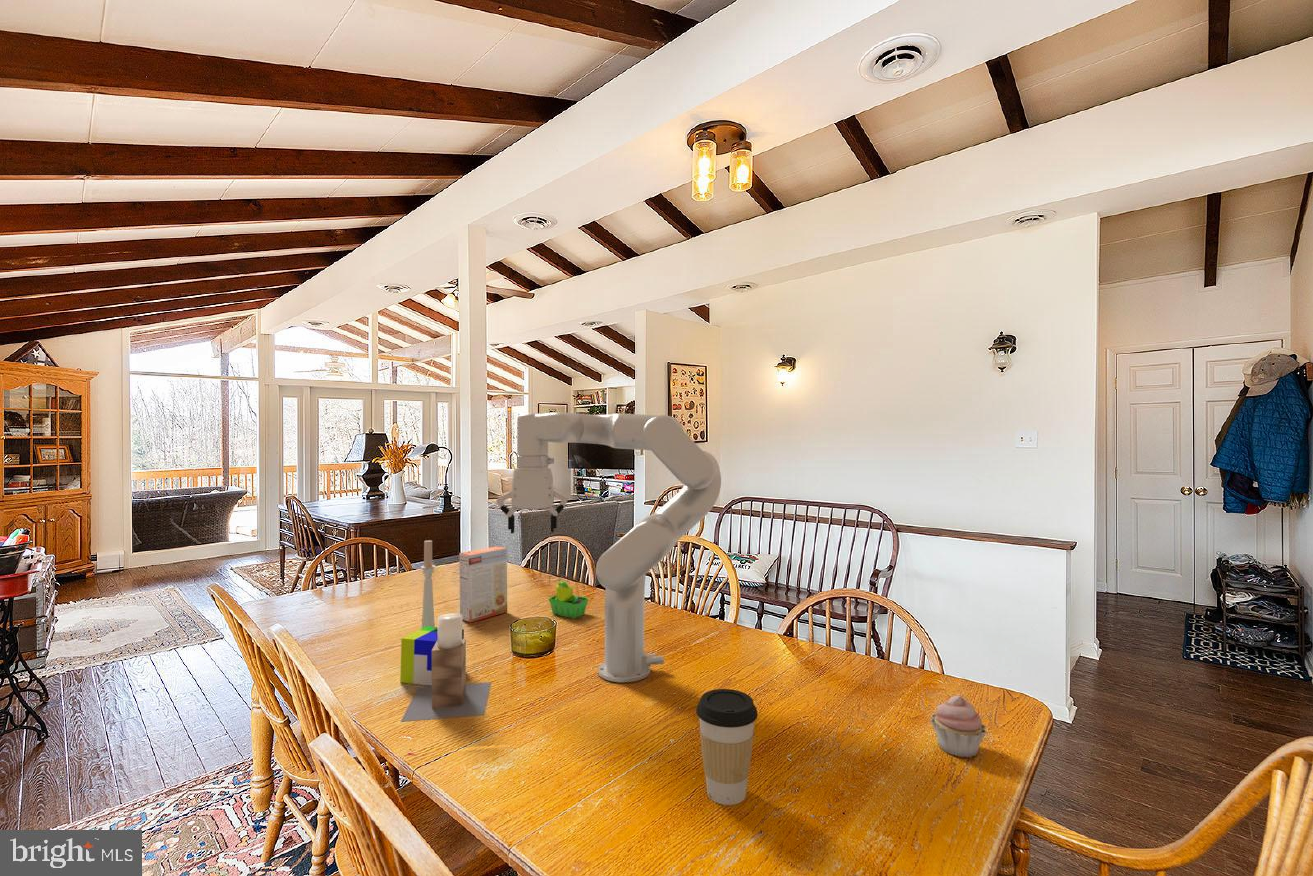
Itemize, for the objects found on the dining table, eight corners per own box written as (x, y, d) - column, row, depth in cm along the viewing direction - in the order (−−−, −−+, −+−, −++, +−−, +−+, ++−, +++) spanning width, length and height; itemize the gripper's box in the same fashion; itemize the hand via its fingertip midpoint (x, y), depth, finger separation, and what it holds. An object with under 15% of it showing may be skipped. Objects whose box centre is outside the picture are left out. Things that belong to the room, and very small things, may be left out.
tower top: (465, 666, 129) (465, 639, 129) (461, 677, 123) (461, 648, 123) (437, 668, 128) (437, 640, 128) (431, 679, 122) (431, 650, 122)
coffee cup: (750, 774, 99) (751, 686, 99) (763, 812, 90) (763, 714, 89) (693, 775, 99) (693, 687, 99) (699, 813, 89) (699, 715, 89)
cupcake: (957, 767, 102) (957, 710, 102) (919, 740, 111) (919, 687, 111) (999, 759, 105) (1000, 703, 104) (959, 733, 114) (959, 682, 113)
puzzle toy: (439, 686, 132) (440, 641, 133) (400, 682, 134) (401, 638, 135) (462, 670, 142) (463, 629, 142) (425, 667, 144) (426, 626, 145)
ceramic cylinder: (463, 640, 128) (463, 612, 128) (460, 648, 123) (460, 619, 123) (439, 641, 127) (439, 613, 127) (435, 649, 123) (435, 621, 122)
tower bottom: (465, 693, 129) (465, 666, 129) (461, 705, 123) (461, 677, 123) (437, 695, 128) (437, 668, 128) (431, 708, 122) (431, 679, 122)
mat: (491, 683, 135) (491, 682, 135) (484, 716, 119) (484, 714, 119) (418, 689, 132) (418, 687, 132) (400, 723, 116) (400, 721, 116)
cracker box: (497, 609, 192) (497, 545, 192) (508, 612, 188) (508, 547, 188) (458, 619, 181) (458, 552, 181) (469, 623, 177) (469, 554, 177)
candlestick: (455, 659, 150) (455, 541, 149) (400, 666, 145) (400, 545, 145) (452, 642, 162) (452, 533, 161) (402, 648, 157) (402, 536, 157)
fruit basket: (590, 614, 187) (590, 578, 187) (572, 621, 180) (572, 584, 180) (563, 608, 193) (563, 574, 193) (544, 615, 186) (544, 579, 186)
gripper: (567, 462, 150) (567, 528, 150) (497, 462, 147) (497, 530, 147) (568, 463, 143) (568, 533, 143) (495, 463, 140) (495, 535, 140)
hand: (532, 531), depth 145 cm, fingers open, 9 cm apart
